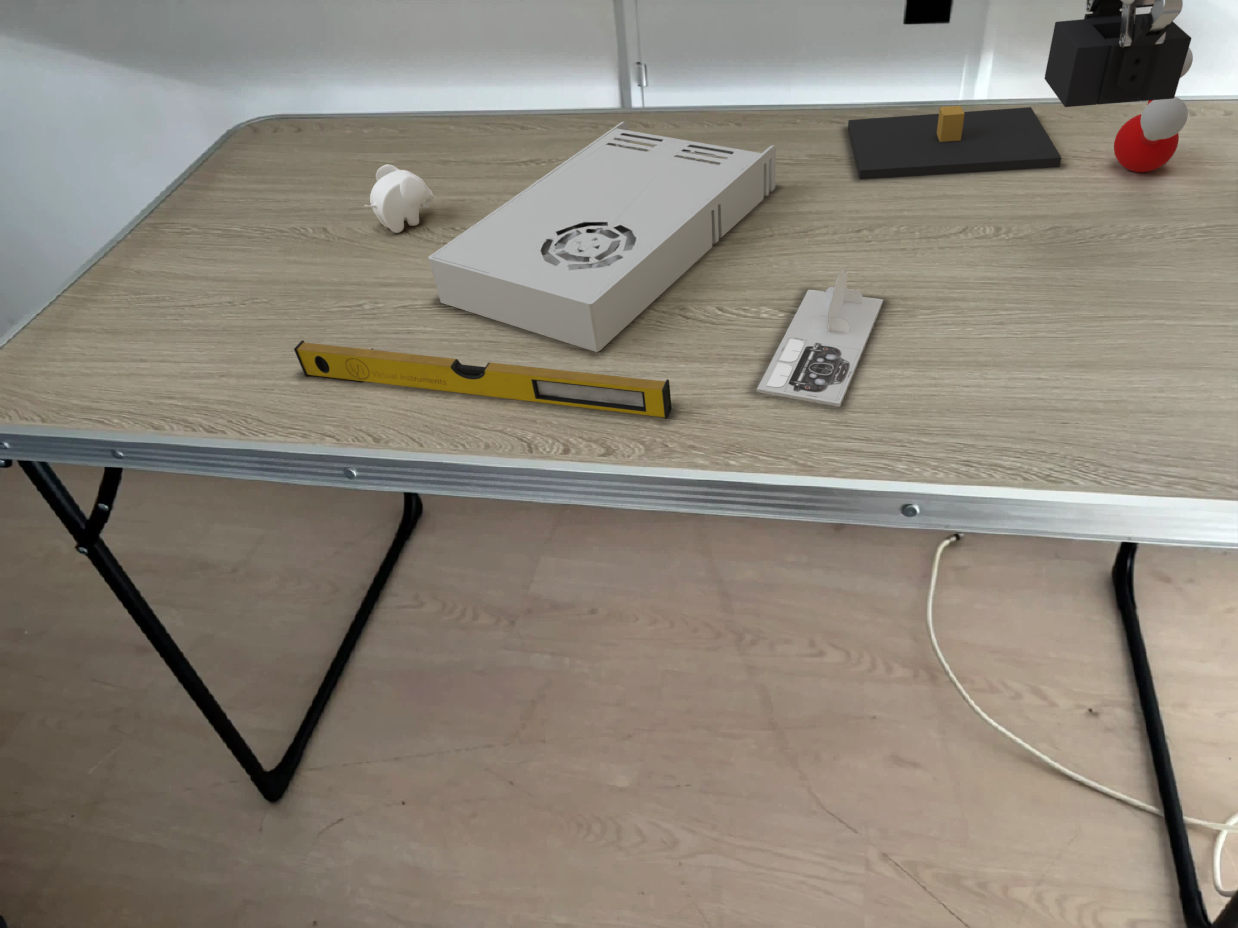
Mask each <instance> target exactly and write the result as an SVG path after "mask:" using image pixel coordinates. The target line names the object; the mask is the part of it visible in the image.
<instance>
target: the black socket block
mask: <svg viewBox="0 0 1238 928" xmlns="http://www.w3.org/2000/svg"><path fill="white" fill-rule="evenodd" d="M1149 13H1150V12H1147V13H1146V14H1149ZM1143 14H1144V13H1137V14H1136V15H1135V24H1136V22H1137V21H1138V20H1139V19H1140V18H1141V16H1142V15H1143ZM1135 24H1134V25H1135ZM1120 26H1121V16H1112V17H1101V18H1090V19H1084V18H1082V19H1071V20H1061V21H1055V22H1054V27H1053V32H1052V38H1051V41H1050V47H1049V52H1048V58H1047V63H1046V68H1045V72H1044V81H1045V82H1046V83H1047V85H1048V86H1049V87H1050V89H1051V90H1052V92H1053V93H1054V94H1055V96H1056V97H1057V99H1058V100H1059V101H1060V103H1061V104H1062V106H1063V107H1064V108H1072V107H1087V106H1097V105H1098V106H1099V105H1111V104H1122V103H1136V102H1148V101H1150V100H1162V99H1173V98H1174V97H1176V93H1177V90H1178V86H1179V82H1180V80H1181V78H1180V76H1181V73H1182V69H1183V66H1184V63H1185V59H1186V56H1187V52H1188V49H1189V48H1190V45H1191V41H1192V37H1191V36H1190V35H1189V34H1188V33H1187V32H1186V31H1184V30H1183V29H1182V28H1181V27H1180V26H1179V25H1178V24H1176V23H1175V22H1174V20H1173V21H1172V24H1171V25H1170V27H1169V29H1168V30H1167V31H1166V35H1165V40H1164V42H1163V43H1162V44H1161V45H1160V49H1159V52H1158V56H1157V60H1156V63H1155V67H1154V71H1153V74H1152V78H1151V82H1150V85H1149V89H1148V92H1147V94H1146V95H1145V96H1143V97H1137V98H1124V99H1112V100H1105V99H1104V98H1103V97H1102V96H1101V91H1102V87H1103V83H1104V78H1105V74H1106V70H1107V66H1108V61H1109V57H1110V53H1111V49H1112V45H1113V44H1114V43H1119V36H1120Z"/></svg>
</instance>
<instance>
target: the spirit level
mask: <svg viewBox="0 0 1238 928" xmlns="http://www.w3.org/2000/svg"><path fill="white" fill-rule="evenodd" d="M293 350H294V353H295V355H296V358H297V360H298V362H299V364H300V368H301V369H302V372H303V374H304V376H305V377H308V376H315V377H325V378H331V379H340V380H348V381H356V382H357V381H358V382H367V383H373V384H381V385H382V384H383V385H391V386H392V385H393V386H398V387H407V388H417V389H424V390H432V391H441V392H449V393H457V394H466V395H475V396H482V397H492V398H498V399H499V398H500V399H507V400H517V401H523V402H534V403H541V404H548V405H550V404H551V405H557V406H565V407H567V406H568V407H575V408H584V409H592V410H598V411H599V410H601V411H609V412H616V413H623V414H634V415H642V416H649V417H657V418H658V417H659V418H664V419H665V420H667V419H669V417H670V414H671V411H672V410H673V408H672V407H673V406H672V398H671V385H670V379H665V380H656V379H646V378H637V377H629V376H628V377H627V376H618V375H608V374H601V373H600V374H599V373H593V372H592V373H590V372H581V371H573V370H562V369H555V368H554V369H553V368H544V367H534V366H525V365H517V364H507V363H498V362H491V361H490V362H488V363H486V365H485V366H479V365H471V364H462V363H461V362H460V361H459V359H458V358H453V357H452V358H450V357H443V356H442V357H441V356H434V355H423V354H414V353H406V352H397V351H387V350H377V349H368V348H358V347H349V346H341V345H331V344H322V343H315V342H305V340H301V341H300V342H299V343H298V344H297V345H296V346H295V347H294V348H293Z"/></svg>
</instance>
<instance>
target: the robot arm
mask: <svg viewBox="0 0 1238 928" xmlns="http://www.w3.org/2000/svg"><path fill="white" fill-rule="evenodd" d="M1183 1H1184V0H1086V2H1085V12H1086V13H1085V14H1084V17H1083V19H1090V18H1101V17H1112V16H1121V26H1120V36H1119V43H1114V44H1113V45H1112V49H1111V53H1110V57H1109V61H1108V66H1107V70H1106V74H1105V78H1104V83H1103V87H1102V91H1101V96H1102V97H1103V98H1104V99H1105V100H1112V99H1124V98H1137V97H1143V96H1145V95H1146V94H1147V92H1148V89H1149V85H1150V82H1151V78H1152V74H1153V71H1154V67H1155V63H1156V60H1157V56H1158V52H1159V49H1160V45H1161V44H1162V43H1163V42H1164V40H1165V35H1166V31H1167V30H1168V29H1169V27H1170V25H1171V24H1172V21H1173V22H1174V21H1175V19H1176V18H1177V17H1178V16H1179V15H1180V14H1181V12H1182V10H1183V5H1184V4H1183V3H1184V2H1183ZM1140 8H1141V9H1142V8H1150V12H1148V13H1149V14H1147V13H1142V14H1143V15H1142V16H1141V18H1140V19H1139V20H1138V21H1137V22H1136V24H1135V15H1136V13H1137V9H1140ZM1134 24H1135V25H1134Z"/></svg>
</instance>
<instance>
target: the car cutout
mask: <svg viewBox="0 0 1238 928" xmlns="http://www.w3.org/2000/svg"><path fill="white" fill-rule="evenodd" d="M883 304H884V298H877V297H869V296H863V293H862V292H861V291H860V290H858V289H856V288H848V270H845V268H844V267H842V268H841V270H840V271H839V274H838V276H837V277H836V280H835V283H834V285H833V286H829V287H827V289H826V290H825V291H824V290H817V289H810V288H808V289H807V291H806V293H805V294H804V296H803V299H802V301H801V302H800V304H799V306H798V308H797V310H796V312H795V314H794V315H793V317H792V319H791V321H790V324H789V325H788V327H787V328H786V329H787V330H786V331H785V333H784V335H783V337H782V338H781V340H780V342H779V345H778V347H777V349H776V350H775V353H774V354H773V356H772V358H771V360H770V362H769V364H768V366H767V367H766V370H765V371H764V373H763V376H762V377H761V379H760V382H759V383H758V385H757V388H756V393H760V394H766V395H771V396H777V397H783V398H788V399H793V400H799V401H804V402H811V403H816V404H822V405H827V406H831V407H837V408H838V407H839V408H840V407H841V406H842V404H843V401H844V398H845V396H846V394H847V391H848V389H849V386H850V384H851V381H852V379H853V378H854V374H855V372H856V369H857V367H858V364H859V362H860V360H861V357H862V356H863V353H864V350H865V347H866V345H867V343H868V340H869V338H870V335H871V334H872V331H873V328H874V326H875V323H876V320H877V318H878V316H879V314H880V311H881V309H882V306H883Z"/></svg>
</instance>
